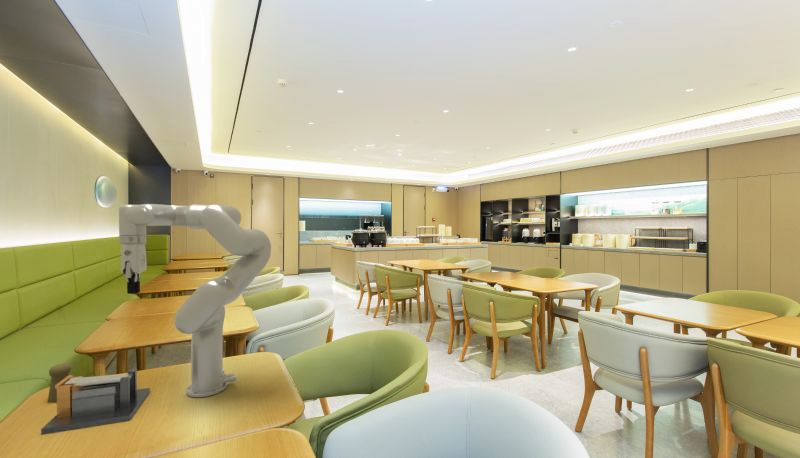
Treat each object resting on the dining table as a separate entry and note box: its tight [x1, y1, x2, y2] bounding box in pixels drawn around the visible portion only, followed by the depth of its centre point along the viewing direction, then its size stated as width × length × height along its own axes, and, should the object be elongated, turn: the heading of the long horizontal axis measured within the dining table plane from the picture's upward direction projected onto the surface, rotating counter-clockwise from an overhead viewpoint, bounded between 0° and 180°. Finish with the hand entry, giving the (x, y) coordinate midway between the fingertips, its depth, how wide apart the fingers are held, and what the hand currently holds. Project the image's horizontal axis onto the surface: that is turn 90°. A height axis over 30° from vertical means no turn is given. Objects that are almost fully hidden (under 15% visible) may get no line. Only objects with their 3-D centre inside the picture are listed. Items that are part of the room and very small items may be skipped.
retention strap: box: [64, 373, 133, 386], centre depth 107 cm, size 16×4×1 cm, turn 110°
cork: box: [47, 362, 72, 404], centre depth 115 cm, size 6×6×11 cm
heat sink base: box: [40, 368, 151, 436], centre depth 107 cm, size 20×18×11 cm
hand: (133, 292), depth 122 cm, fingers closed
